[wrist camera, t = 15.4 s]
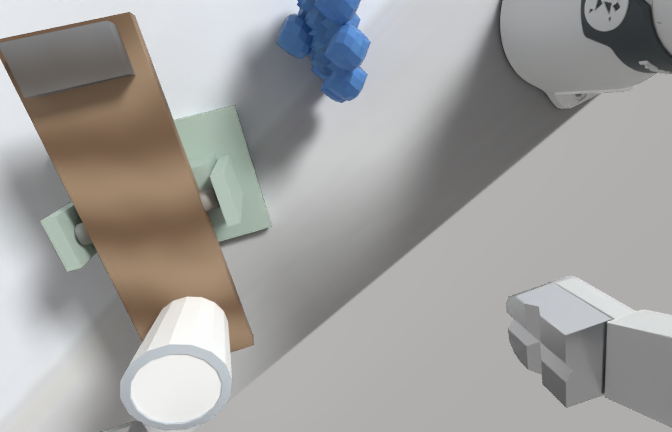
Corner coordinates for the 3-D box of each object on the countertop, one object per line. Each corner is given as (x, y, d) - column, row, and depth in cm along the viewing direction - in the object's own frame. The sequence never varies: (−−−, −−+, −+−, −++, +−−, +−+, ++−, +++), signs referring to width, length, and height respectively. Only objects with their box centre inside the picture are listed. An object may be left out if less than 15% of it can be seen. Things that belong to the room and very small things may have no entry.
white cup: (222, 368, 33) (216, 437, 27) (137, 354, 31) (107, 426, 24) (246, 299, 31) (245, 355, 25) (158, 280, 29) (132, 335, 23)
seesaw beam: (-6, 47, 24) (-47, 41, 21) (153, 14, 26) (138, 3, 22) (152, 363, 34) (142, 393, 30) (264, 327, 35) (265, 353, 32)
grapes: (249, -24, 32) (249, -83, 21) (326, -43, 33) (363, -110, 22) (291, 113, 36) (309, 124, 25) (358, 93, 37) (404, 95, 26)
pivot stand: (234, 105, 35) (229, 110, 26) (271, 223, 39) (276, 262, 31) (52, 149, 33) (-19, 171, 24) (111, 269, 37) (68, 324, 29)
